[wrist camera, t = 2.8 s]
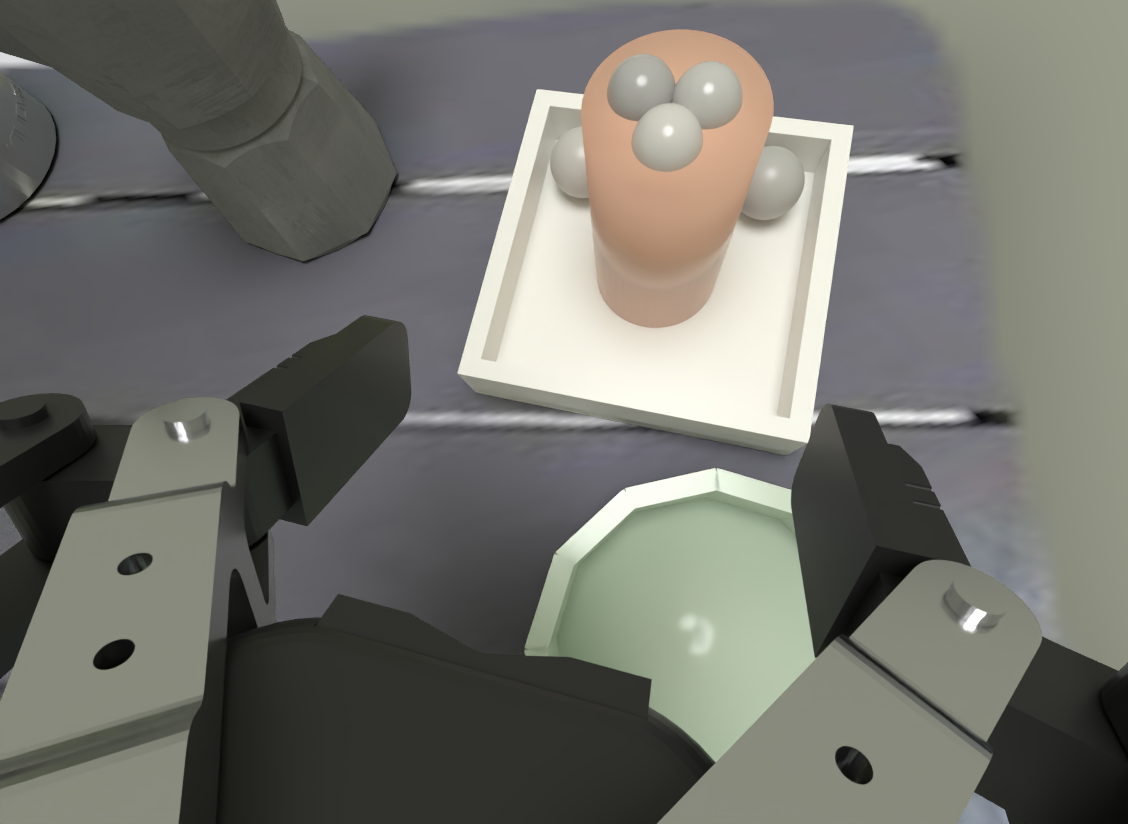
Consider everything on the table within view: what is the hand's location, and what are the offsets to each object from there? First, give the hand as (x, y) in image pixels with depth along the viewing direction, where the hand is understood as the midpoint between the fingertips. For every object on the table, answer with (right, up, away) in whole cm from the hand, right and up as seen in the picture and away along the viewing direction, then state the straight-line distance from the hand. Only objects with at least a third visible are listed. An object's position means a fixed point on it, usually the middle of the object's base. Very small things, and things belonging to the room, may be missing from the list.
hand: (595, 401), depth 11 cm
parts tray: (+4, +6, +16) cm, 17 cm away
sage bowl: (+5, -10, +12) cm, 16 cm away
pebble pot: (+4, +6, +15) cm, 16 cm away
